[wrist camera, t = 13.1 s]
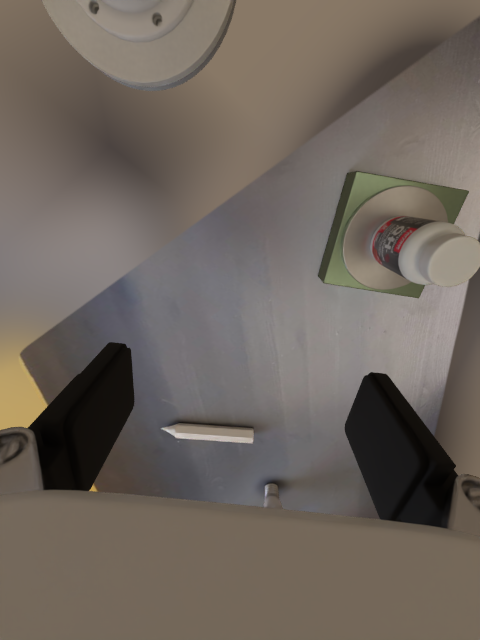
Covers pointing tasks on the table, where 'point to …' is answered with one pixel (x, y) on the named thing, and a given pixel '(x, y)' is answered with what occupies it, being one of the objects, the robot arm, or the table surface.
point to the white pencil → (211, 432)
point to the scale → (351, 198)
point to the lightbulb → (272, 497)
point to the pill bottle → (426, 251)
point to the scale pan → (368, 221)
